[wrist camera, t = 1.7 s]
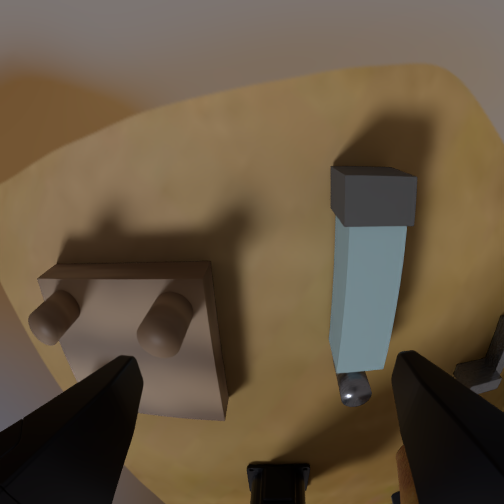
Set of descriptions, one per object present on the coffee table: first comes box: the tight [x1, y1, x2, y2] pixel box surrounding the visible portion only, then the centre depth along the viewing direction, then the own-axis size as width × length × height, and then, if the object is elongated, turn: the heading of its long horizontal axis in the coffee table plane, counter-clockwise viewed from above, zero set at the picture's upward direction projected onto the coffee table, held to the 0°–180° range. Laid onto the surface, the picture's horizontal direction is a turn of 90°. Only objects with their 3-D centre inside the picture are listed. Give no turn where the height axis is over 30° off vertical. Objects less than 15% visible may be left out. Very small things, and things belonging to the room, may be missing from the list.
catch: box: [453, 315, 504, 394], centre depth 20 cm, size 6×4×3 cm
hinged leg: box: [329, 166, 417, 373], centre depth 17 cm, size 12×4×4 cm, turn 4°
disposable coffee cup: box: [396, 445, 419, 504], centre depth 21 cm, size 10×10×12 cm
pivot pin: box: [333, 360, 372, 407], centre depth 20 cm, size 2×2×4 cm
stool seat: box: [28, 261, 229, 421], centre depth 20 cm, size 12×12×6 cm
